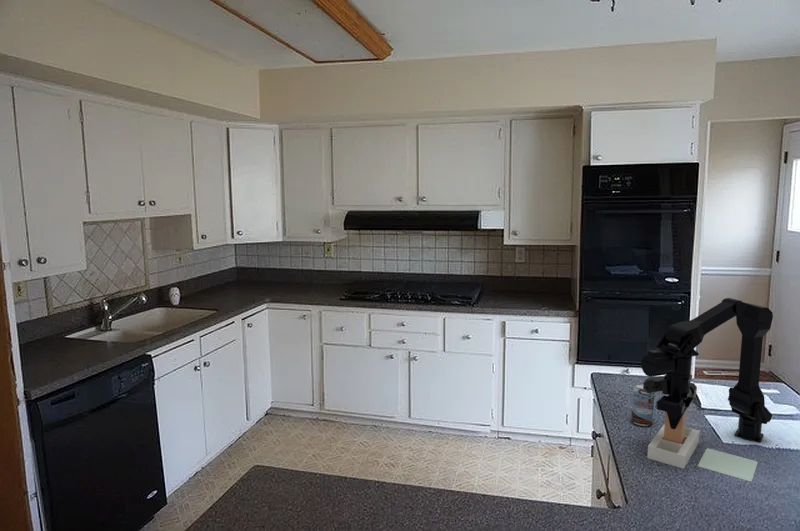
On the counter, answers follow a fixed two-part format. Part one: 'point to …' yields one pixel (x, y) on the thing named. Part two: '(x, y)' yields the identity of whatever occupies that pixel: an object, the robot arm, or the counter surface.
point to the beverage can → (642, 406)
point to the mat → (728, 464)
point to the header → (673, 448)
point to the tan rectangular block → (679, 432)
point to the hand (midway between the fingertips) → (675, 425)
